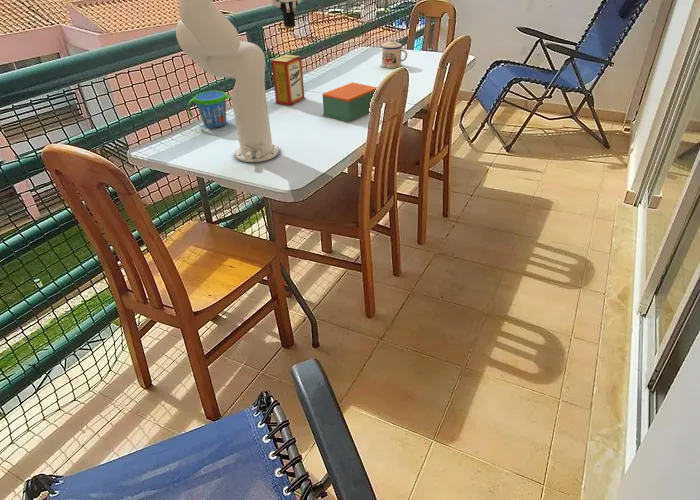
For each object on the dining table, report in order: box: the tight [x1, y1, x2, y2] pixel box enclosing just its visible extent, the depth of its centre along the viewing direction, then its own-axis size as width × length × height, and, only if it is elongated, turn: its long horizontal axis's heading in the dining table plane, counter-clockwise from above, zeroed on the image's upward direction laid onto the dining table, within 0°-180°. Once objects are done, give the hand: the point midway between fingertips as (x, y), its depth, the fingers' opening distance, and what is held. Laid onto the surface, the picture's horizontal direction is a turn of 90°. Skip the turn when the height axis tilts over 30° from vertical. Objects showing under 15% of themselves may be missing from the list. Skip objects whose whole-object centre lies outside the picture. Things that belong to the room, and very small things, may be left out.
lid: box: [322, 82, 378, 102], centre depth 172 cm, size 16×12×1 cm
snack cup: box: [187, 90, 232, 129], centre depth 167 cm, size 16×10×10 cm
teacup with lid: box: [381, 37, 408, 69], centre depth 222 cm, size 12×9×12 cm
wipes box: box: [322, 91, 375, 123], centre depth 174 cm, size 16×12×7 cm
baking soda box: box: [270, 54, 305, 106], centre depth 184 cm, size 10×6×16 cm
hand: (289, 26), depth 148 cm, fingers closed
